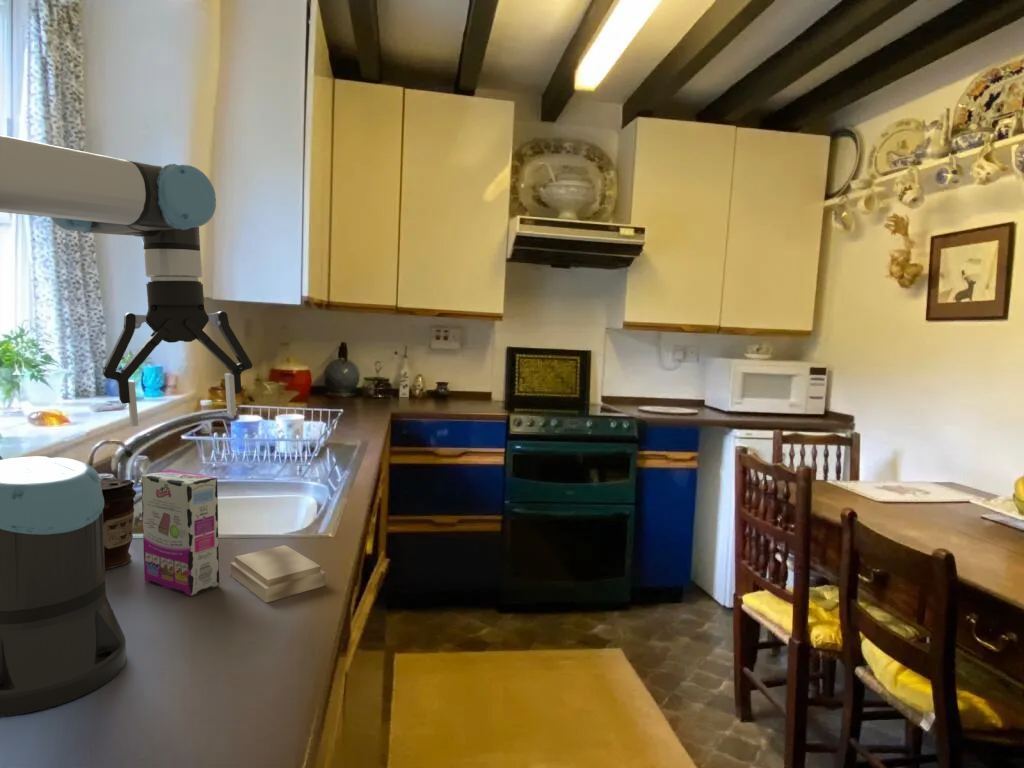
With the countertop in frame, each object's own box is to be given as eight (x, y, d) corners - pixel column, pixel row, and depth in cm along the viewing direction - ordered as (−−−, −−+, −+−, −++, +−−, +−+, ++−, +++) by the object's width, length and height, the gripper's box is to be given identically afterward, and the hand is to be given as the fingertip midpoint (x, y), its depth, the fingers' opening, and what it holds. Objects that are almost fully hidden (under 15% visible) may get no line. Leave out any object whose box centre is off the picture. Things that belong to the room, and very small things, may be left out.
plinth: (265, 602, 90) (265, 581, 90) (230, 575, 99) (230, 556, 99) (325, 585, 96) (325, 566, 96) (286, 561, 106) (286, 543, 105)
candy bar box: (222, 585, 96) (219, 477, 94) (191, 598, 91) (188, 484, 90) (173, 570, 101) (170, 467, 99) (142, 582, 96) (138, 474, 95)
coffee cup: (152, 555, 107) (149, 478, 106) (116, 574, 99) (113, 491, 98) (103, 552, 108) (100, 476, 107) (63, 571, 100) (60, 489, 98)
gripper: (254, 281, 107) (261, 407, 110) (73, 279, 92) (86, 425, 95) (267, 280, 101) (274, 413, 104) (76, 278, 86) (90, 433, 89)
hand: (184, 419), depth 99 cm, fingers open, 13 cm apart
